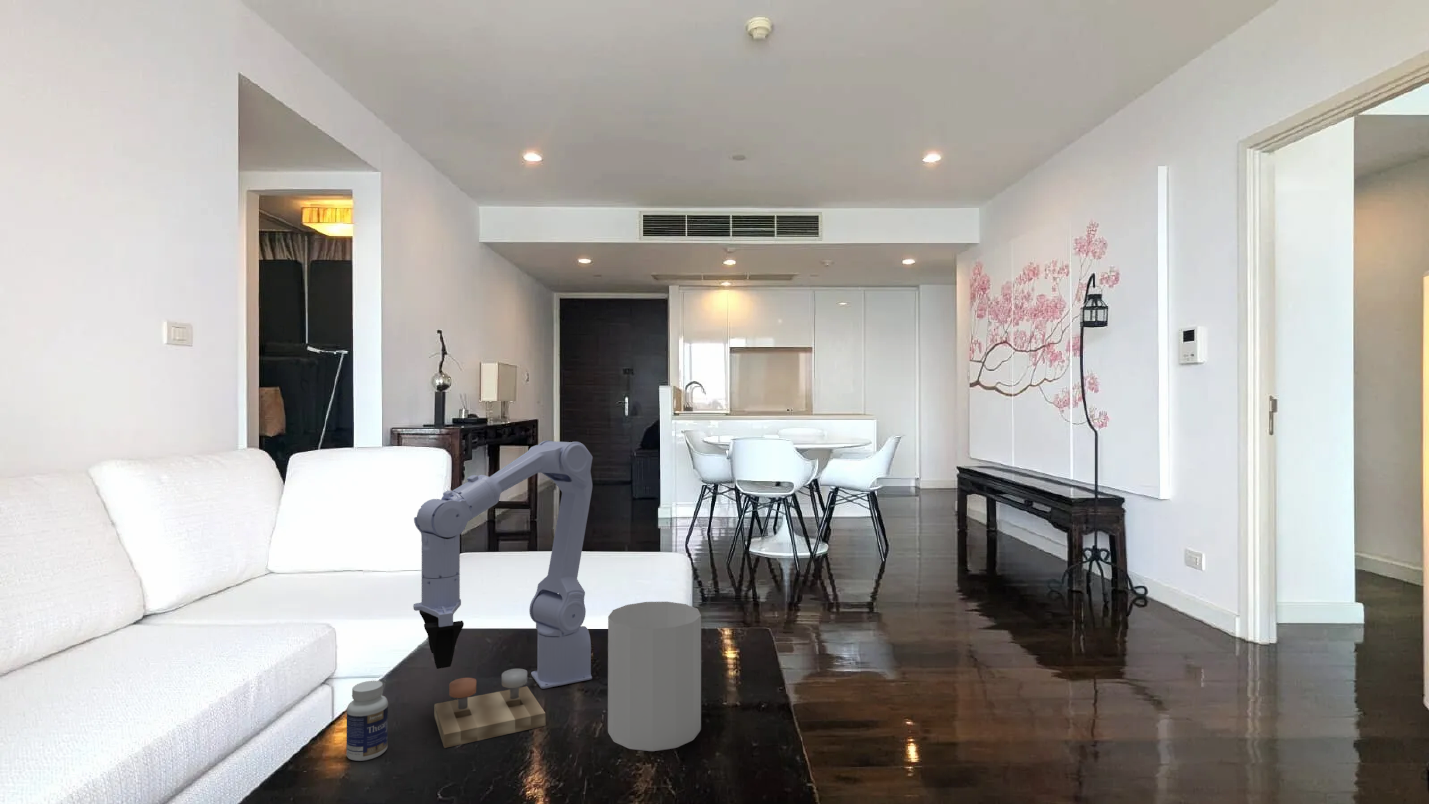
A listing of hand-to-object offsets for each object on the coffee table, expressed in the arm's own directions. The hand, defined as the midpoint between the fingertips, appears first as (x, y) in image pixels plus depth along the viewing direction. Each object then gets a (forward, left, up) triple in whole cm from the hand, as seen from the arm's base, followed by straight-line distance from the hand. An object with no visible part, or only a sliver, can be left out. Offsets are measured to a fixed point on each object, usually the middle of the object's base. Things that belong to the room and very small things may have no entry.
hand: (440, 659), depth 110 cm
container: (-29, +19, -10) cm, 36 cm away
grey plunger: (-11, +4, -7) cm, 13 cm away
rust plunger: (-3, +4, -7) cm, 8 cm away
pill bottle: (+11, +6, -10) cm, 16 cm away
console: (-7, +4, -10) cm, 13 cm away
